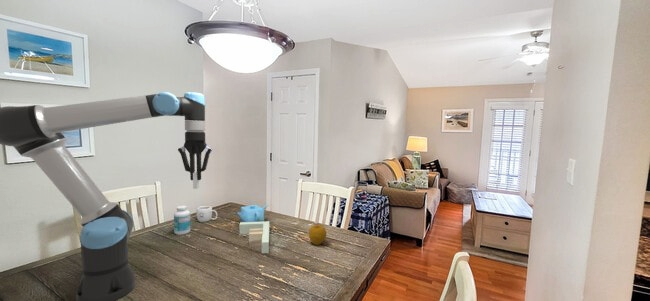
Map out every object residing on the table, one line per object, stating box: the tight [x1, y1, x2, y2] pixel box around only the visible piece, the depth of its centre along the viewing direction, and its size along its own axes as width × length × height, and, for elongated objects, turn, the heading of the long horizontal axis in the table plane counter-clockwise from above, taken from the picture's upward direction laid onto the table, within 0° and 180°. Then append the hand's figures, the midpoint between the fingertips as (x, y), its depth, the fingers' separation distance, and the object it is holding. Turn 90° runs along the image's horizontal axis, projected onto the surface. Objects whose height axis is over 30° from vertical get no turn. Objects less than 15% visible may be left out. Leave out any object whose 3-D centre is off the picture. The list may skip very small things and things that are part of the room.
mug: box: [195, 205, 218, 223], centre depth 155 cm, size 12×8×8 cm
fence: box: [238, 220, 270, 254], centre depth 129 cm, size 26×15×5 cm, turn 11°
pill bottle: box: [173, 205, 191, 236], centre depth 137 cm, size 8×7×14 cm
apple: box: [308, 224, 327, 246], centre depth 129 cm, size 8×8×9 cm
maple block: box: [248, 228, 263, 247], centre depth 128 cm, size 6×6×6 cm
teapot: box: [236, 204, 269, 222], centre depth 150 cm, size 16×18×11 cm
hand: (196, 187), depth 112 cm, fingers closed
